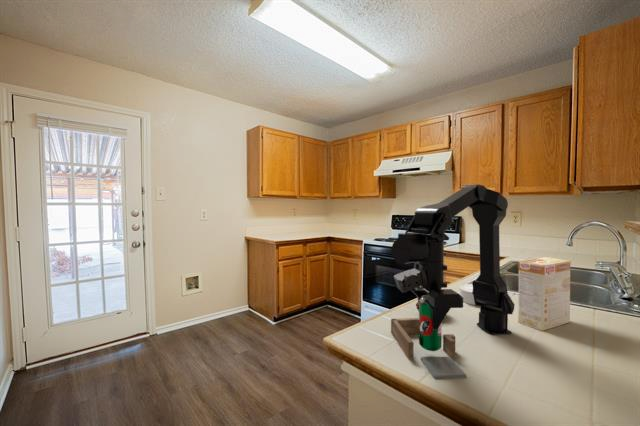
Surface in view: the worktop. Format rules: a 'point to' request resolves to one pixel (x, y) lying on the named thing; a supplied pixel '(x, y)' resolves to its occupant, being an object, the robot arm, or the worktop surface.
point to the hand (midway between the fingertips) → (430, 323)
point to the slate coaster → (442, 367)
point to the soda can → (428, 328)
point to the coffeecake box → (544, 292)
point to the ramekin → (467, 293)
